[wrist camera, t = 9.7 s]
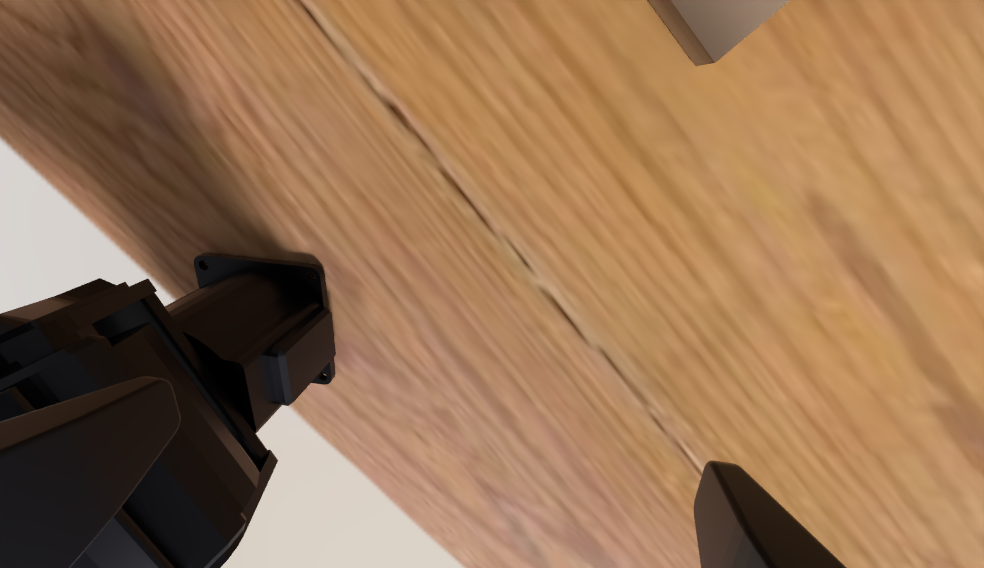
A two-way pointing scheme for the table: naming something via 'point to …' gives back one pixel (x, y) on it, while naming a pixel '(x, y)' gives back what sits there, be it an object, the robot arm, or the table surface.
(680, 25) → the walnut plinth
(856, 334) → the table surface
